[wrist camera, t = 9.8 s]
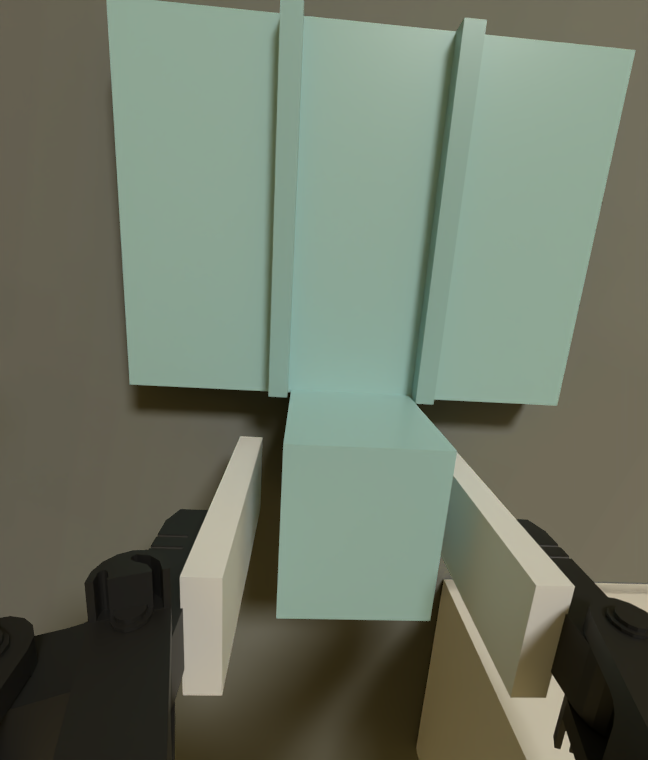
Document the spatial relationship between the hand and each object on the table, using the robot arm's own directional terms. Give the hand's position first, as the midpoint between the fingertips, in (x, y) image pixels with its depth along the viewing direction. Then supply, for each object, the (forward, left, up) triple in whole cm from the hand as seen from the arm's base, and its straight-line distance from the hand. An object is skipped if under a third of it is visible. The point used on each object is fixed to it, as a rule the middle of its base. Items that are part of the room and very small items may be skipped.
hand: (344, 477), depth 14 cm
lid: (0, +6, -2) cm, 6 cm away
